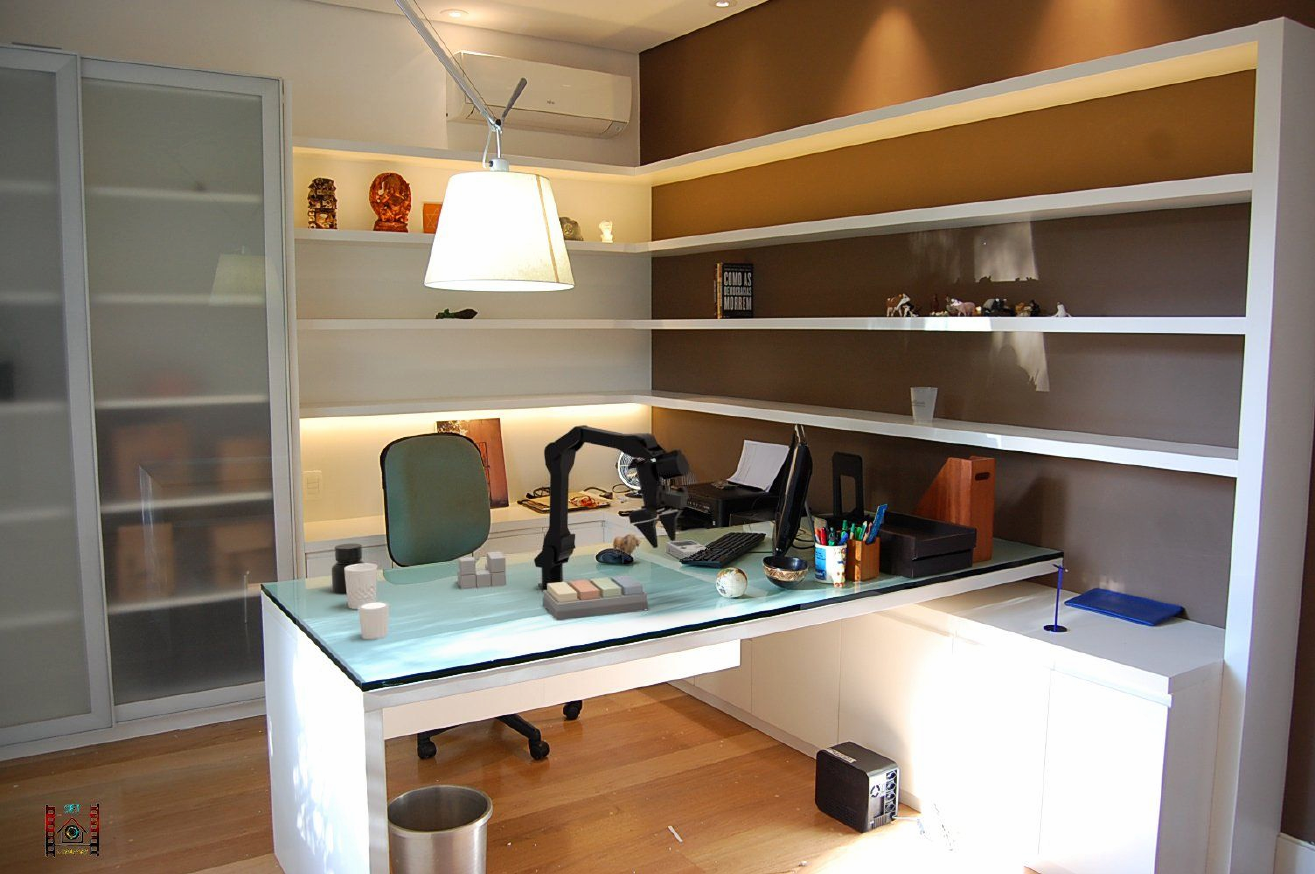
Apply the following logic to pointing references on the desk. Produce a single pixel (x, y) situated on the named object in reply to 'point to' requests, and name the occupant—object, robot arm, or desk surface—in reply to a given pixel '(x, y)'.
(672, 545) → the handheld gaming device
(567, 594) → the sand key
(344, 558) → the ink bottle
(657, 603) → the desk surface
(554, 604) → the pastel key tray
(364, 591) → the white cup
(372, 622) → the white cylinder
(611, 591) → the sage key
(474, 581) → the grey stacked cubes
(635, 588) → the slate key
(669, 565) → the desk surface
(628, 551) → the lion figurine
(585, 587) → the terracotta key
